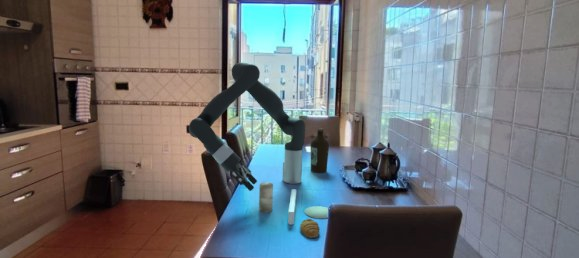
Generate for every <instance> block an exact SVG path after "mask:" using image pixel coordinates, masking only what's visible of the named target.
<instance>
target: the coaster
mask: <svg viewBox="0 0 579 258" xmlns="http://www.w3.org/2000/svg"><path fill="white" fill-rule="evenodd" d="M328 208H329V207H326V206H321V205H319V206H318V205H317V206H314V205H313V206H309V207H307V208H305V209H304V214H305V215H306V216H308V217H310V218H313V219H321V220H322V219H328V218H327V214H328Z"/></svg>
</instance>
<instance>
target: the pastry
mask: <svg viewBox="0 0 579 258" xmlns="http://www.w3.org/2000/svg"><path fill="white" fill-rule="evenodd" d="M299 230H300V232H301V234H303V235H304V236H305V237H306V238H310V239H311V238H318V236H319V235H320V226H319V223H318V222H317V221H315V219H312V218H307V219H304V220H303V221H302V222H301V223H300V226H299Z"/></svg>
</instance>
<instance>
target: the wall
mask: <svg viewBox="0 0 579 258" xmlns="http://www.w3.org/2000/svg"><path fill="white" fill-rule="evenodd" d="M289 201H290V202H289V205H288V217H287V219H288V221H287V222H288V223H287V224H288V225H294V223H295V222H294V221H295V212H296V203H297V189H293V188H291V192H290V199H289Z"/></svg>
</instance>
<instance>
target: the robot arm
mask: <svg viewBox="0 0 579 258" xmlns="http://www.w3.org/2000/svg"><path fill="white" fill-rule="evenodd" d="M260 74H261V72H260V68H259V67H258V66H257V65H256V64H253V63H248V62H238V63H235V64H234V65H233V66H232V68H231V77H232V79H233V80H234V81H235V82H234V83H232V84H231V85H230V86H228V87H227V88H225V89H224V90H222V91H221V92H219V93H218V94H216V95H215V96H214V97H213V98H212V99H211V100H210V101H209V102H208V103H207V104H206V105H205V107H204V108H203V109H202V112H201V113H200V114H199V115H198V116H197V117H195V118H193V119H192V120H191V121H190V122H189V125H188V133H189V134H190V136H191V137H193V138H195V139H198V140H199V141H200V142H201V143H202V145H203V147H204V149H205V150H207V152H208V153H209V154H210V155H211V156H212V157H213V159H215V161H216V162H217V163H218V164H219V165H220V167H222V168H223V169H224V170H225V171H226V172H227V173H228V172H230V171H232V172H231V173H230V175H231V177H233V179H234V180H235V181H236V182H237V183H238V185H240V186H244V187H245V188H246V189H247V190H248V191H249V192H251V191H253V190H254V188H255V186H254V185H255V184H256V183H257V182H258V180H257V179H256V178H255V177H254V176H253V175H252V171H251V170H250V168H249V167H248V166H247V165H245V164H244V163H243V162H242V161H241V157H240V156H239V155H237V153H236V152H234V150H233V149H232V148H231V147H230V146H228V145H227V144H226V143H225V142H224V141H223V140H222V139H221V138H220V137H219V136H218V135H217V134H216V132H215V131H214V130H213V128H212V126H213V124H214V123H215V122H216V121H217V120H219V118H221V116H222V115H223V113H225V111H226V110H227V109H228V108H229V107H230V106H231V105H232V104H233V103H234V102H235V101H236V100H237V99H238V98H239V97H241V96H242V95H243V94H245V92H248V94H249V95H250V96H251V97H252V98H253V99H254V100H255V102H256V103H257V104H259V106H260V107H261V108H262V110H264V111H265V113H267V115H269V116H270V118H272V119H273V120H274V122H275V123H276V124H277V126H278V127H279V128H280V130H281V131H282V133H283V134H285V135H287V136H291V141H288V142H285V144H284V158H283V159H284V161H283V163H282V181H283V182H284V183H286V184H291V185H293V184H295V185H296V184H300V183H301V182H302V172H303V152H304V151H303V149H304V148H303V147H304V144H305V139H306V138H305V135H306V123H305V121H304V119H302V118H295V117H291V116H289V115H288V114H287V113H286V112H285V111H284V103H283V100H282V99H281V97H279V96H278V94H277V93H276V92H275V91H274V90H272V89H271V88H270V87H268V86H267V85H265V84H263V83H262V82H261V81H259V79H260ZM240 161H241V162H240Z"/></svg>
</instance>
